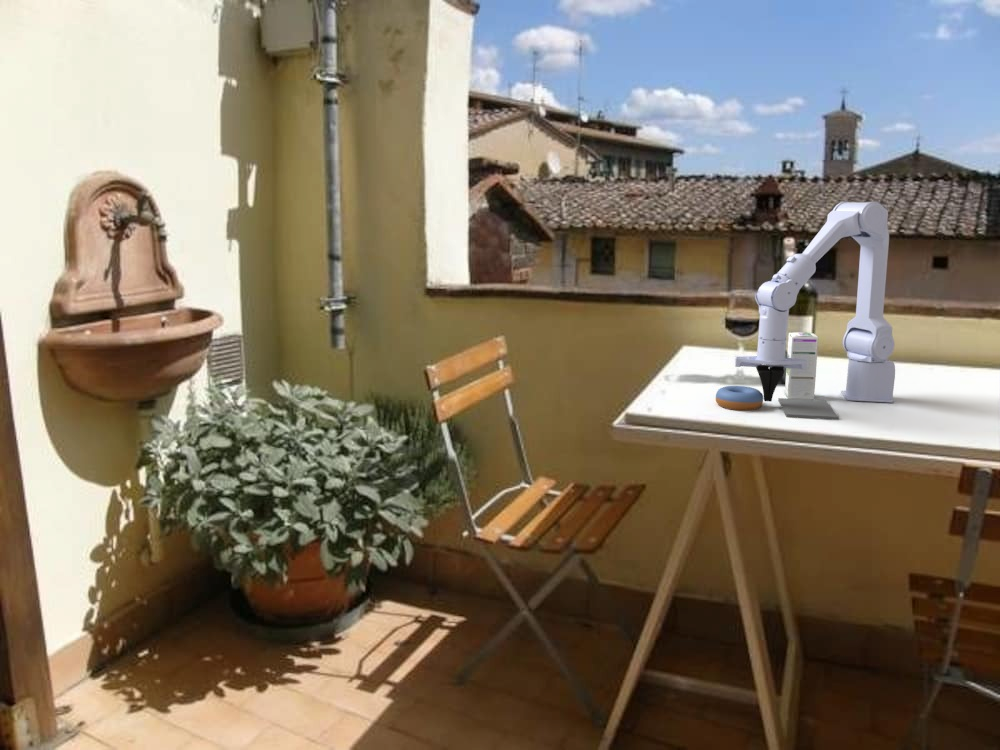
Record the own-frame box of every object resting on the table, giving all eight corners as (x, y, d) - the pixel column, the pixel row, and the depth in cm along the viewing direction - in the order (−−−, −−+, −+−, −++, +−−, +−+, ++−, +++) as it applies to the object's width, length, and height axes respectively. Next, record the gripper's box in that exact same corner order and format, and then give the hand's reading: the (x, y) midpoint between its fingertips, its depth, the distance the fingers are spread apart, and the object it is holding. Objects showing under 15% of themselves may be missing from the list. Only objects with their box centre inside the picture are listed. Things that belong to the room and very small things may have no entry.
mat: (825, 403, 173) (826, 400, 173) (838, 419, 160) (838, 417, 160) (778, 400, 175) (778, 398, 175) (786, 416, 162) (786, 414, 162)
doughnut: (754, 398, 176) (753, 379, 175) (770, 412, 167) (770, 392, 166) (710, 403, 176) (709, 384, 175) (723, 417, 167) (723, 397, 166)
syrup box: (814, 400, 176) (820, 336, 173) (786, 399, 177) (792, 335, 174) (810, 394, 181) (815, 332, 178) (783, 393, 183) (788, 331, 179)
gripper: (805, 336, 170) (799, 397, 172) (735, 334, 172) (731, 394, 175) (810, 342, 163) (805, 405, 166) (738, 339, 166) (733, 401, 169)
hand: (767, 400), depth 170 cm, fingers closed
